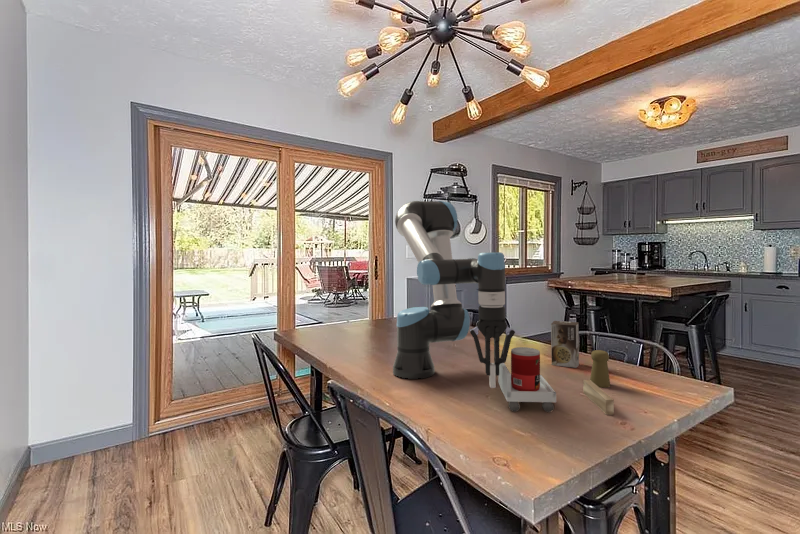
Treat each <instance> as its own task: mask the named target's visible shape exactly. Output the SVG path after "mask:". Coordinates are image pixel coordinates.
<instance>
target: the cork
mask: <svg viewBox="0 0 800 534" xmlns="http://www.w3.org/2000/svg"><path fill="white" fill-rule="evenodd" d="M590 357H591V360H592V364H591V370H590V371H591V372H590V379H589V380H591V381H592V382H593V383H594V384H596V385H597V386H598V387H599V388H601V389H602V388H603V389H604V388H605V389H606V388H610V387H611V381H610V373H609V366H608V362H609V359H610V353H608V351H605V350H601V349H596V350H595V349H594V350H592V351H591V354H590Z"/></svg>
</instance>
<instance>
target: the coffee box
mask: <svg viewBox="0 0 800 534" xmlns="http://www.w3.org/2000/svg"><path fill="white" fill-rule="evenodd" d="M579 325H580V323H579V322H577V321H565V320H563V321H562V320H554V321H552V323H550V338H551V339H550V340H551V344H550V345H551V351H550V352H551V363H550V365H551V366H557V367H566V368H573V369H574V368H575V369H577V368H578V367H579V365H580V346H579V345H580V340H579V339H580V336H579V333H580V332H579V328H580V327H579Z"/></svg>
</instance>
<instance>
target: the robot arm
mask: <svg viewBox="0 0 800 534" xmlns="http://www.w3.org/2000/svg"><path fill="white" fill-rule="evenodd" d="M458 221H459V219H458V213H457V210H456V208H455V206H454V204H452V202H448V201H442V200H439V201H435V200H434V201H433V200H432V201H431V200H429V201H428V200H427V201H426V200H423V201H422V200H412V201H409V202H406V203H405V204H403V205H402V206H401V207H400V208H399V209H398V211H397V213H396V215H395V218H394V223H395V228H396V230H397V232H398V233H399V234H400V236H402V237H404V240H405V241H406V243H407V244H408V246H409V248H410V250H411V251H412V254H413V255H414V257H415V259H416V261H417V266H416V276H417V280H418V282H419V283H420V284H421V285H425V286H426V285H430V286H432V290H433V291H432V292H433V293H432V295H433V303H432V304H431V305H430V309H429V307H427V306H419V307H418V306H415V307H410V308H409V307H408V308H405V309H402V310H400V311H399V312H398V313H397V315H396V325H395V326H396V342H397V343H396V347H397V348H396V349H397V352H396V355H395V359H394V362H393V364H392V374H393V375H394V376H395V375H396V376H395V377H397V376H399V377H398V378H400V377H402V378H401V379H405V378H408V379H407V380H419V379H418V378H421V379H427V378H430V377H431V376H433V375H434V374H435V371H436V370H435V364H434V362H433V361H434V360H433V358H432V355H431V353H430V344H431V343H434V344H435V343H444V342H455V341H462V340H464V339H465V338H466V337H467V335H468V333H470V335H471V336H472V337H473V341H474V345H475V349H476V353H477V357H478V360H479V362H480V363H481V364H482V363H483V364H484V365H485V367H484V369H485V370H484V371H485V374H486V376H488V382H489V385H488V386H489V387H490V389H496V386H497V385H496V383H497V382H496V381H497V380H496V379H497V377H498V376H499V365H500V364H501V363H504V364H505V363H506V362H507V358H508V353H509V349H510V346H511V342H512V339H513V337H514V335H515V334H516V331H515V330H514V329H513V328H511V327H509V326H508V324H507V322H506V307H505V306H504V305H506V263H505V262H506V261H505V254H504V253H503V252H498V251H497V252H480V253H478V255H477V258H473V257H471V258H470V257H469V258H459V259H456V258H455V259H454V258H453V255H452V254H453V252H452V245H451V244H452V243H451V237H452V236H453V235H454V231H455V230H456V229H457V227H458ZM456 284H457V285H458V284H477V285H478V287H477V288H478V296H477V297H478V298H477V299H478V303H477V304H478V305H479V307H478V322H477V323H476V326H475V327H473V328H470V325H471V319H470V314H469V310H467V309H466V308H463V305H462V302H461V301H460V300H459V299H458V297H457V296H458V295H457V287H456ZM479 332H480V333H481V334H482V336H484V354H483V351H482V348H481V343H480V341H479V340H480V339H479V336H478V335H479ZM504 332H505V337H504V340H503V341H504V342H503V346H502V349H501V355H500V337H501V336H502V335H503V333H504ZM492 338H493V362H491V339H492ZM483 355H484V356H483Z"/></svg>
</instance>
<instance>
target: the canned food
mask: <svg viewBox="0 0 800 534" xmlns="http://www.w3.org/2000/svg"><path fill="white" fill-rule="evenodd" d="M510 374H511V385H512V387H513V388H514V389H515V390H518V391H538V390H539V388H540V375H541V352H540V350H539V349H536V348H533V347H527V346H523V347H522V346H520V347H513V348H511V349H510Z"/></svg>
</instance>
